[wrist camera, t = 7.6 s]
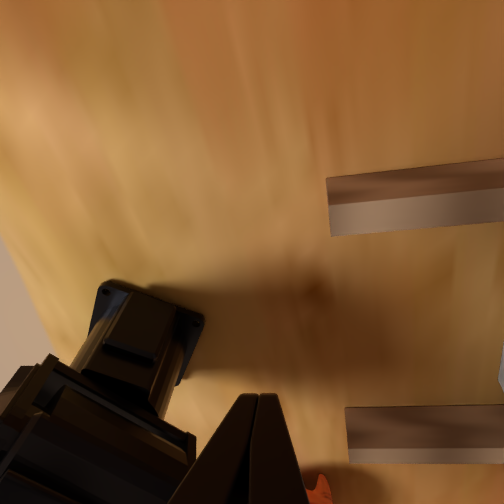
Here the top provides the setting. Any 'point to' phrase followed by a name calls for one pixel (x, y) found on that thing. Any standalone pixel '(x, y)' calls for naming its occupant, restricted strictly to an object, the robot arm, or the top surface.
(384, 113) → the top surface
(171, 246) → the top surface
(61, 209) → the top surface
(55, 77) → the top surface
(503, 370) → the tall block
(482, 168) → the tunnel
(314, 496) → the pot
